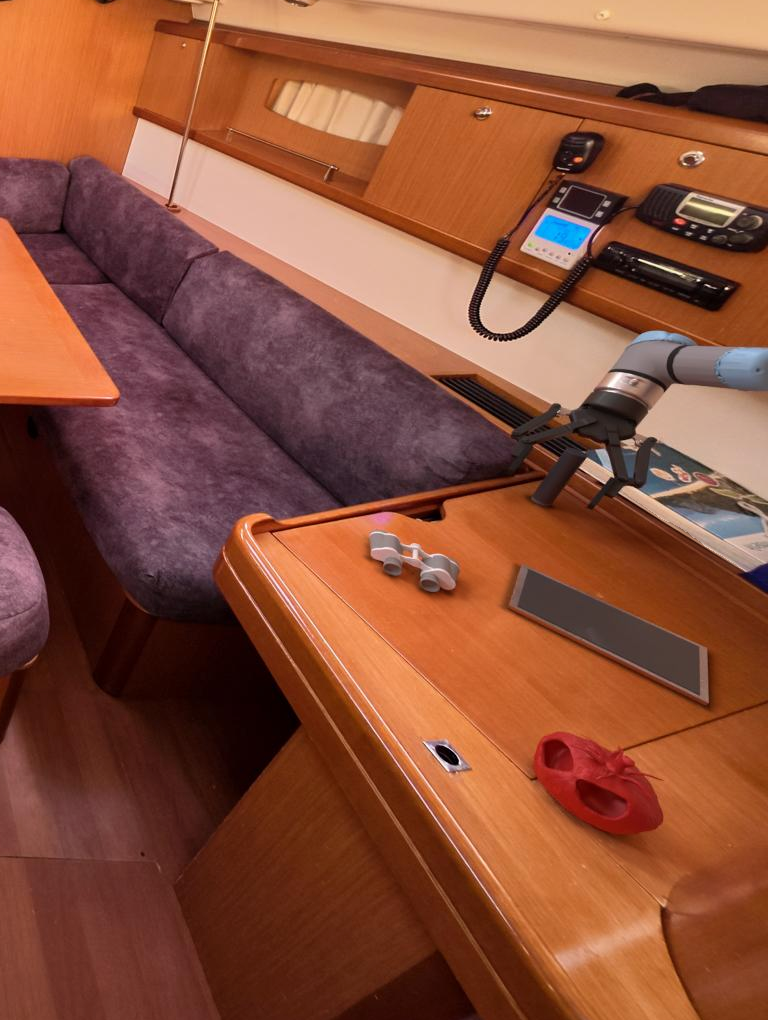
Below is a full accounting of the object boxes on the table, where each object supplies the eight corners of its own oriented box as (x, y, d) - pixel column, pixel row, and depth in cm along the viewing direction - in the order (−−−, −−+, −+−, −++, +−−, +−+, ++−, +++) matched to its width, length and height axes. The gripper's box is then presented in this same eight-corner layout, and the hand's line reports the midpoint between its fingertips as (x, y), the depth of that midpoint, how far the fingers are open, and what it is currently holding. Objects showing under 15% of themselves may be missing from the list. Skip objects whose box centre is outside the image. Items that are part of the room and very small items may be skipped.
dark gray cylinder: (551, 502, 124) (588, 453, 118) (549, 508, 122) (587, 458, 116) (531, 494, 126) (567, 445, 120) (529, 500, 124) (565, 451, 118)
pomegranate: (575, 755, 81) (619, 713, 77) (668, 848, 72) (723, 806, 68) (498, 752, 81) (538, 710, 77) (581, 844, 72) (631, 802, 68)
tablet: (704, 650, 95) (707, 647, 95) (705, 706, 87) (709, 702, 87) (520, 566, 109) (522, 563, 109) (507, 607, 101) (509, 604, 101)
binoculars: (454, 575, 107) (464, 560, 105) (455, 603, 102) (465, 588, 100) (366, 538, 114) (374, 524, 113) (362, 563, 109) (371, 548, 107)
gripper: (540, 365, 127) (472, 449, 127) (722, 425, 109) (644, 522, 109) (534, 381, 132) (469, 461, 132) (708, 440, 114) (633, 533, 114)
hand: (548, 488), depth 120 cm, fingers open, 10 cm apart
